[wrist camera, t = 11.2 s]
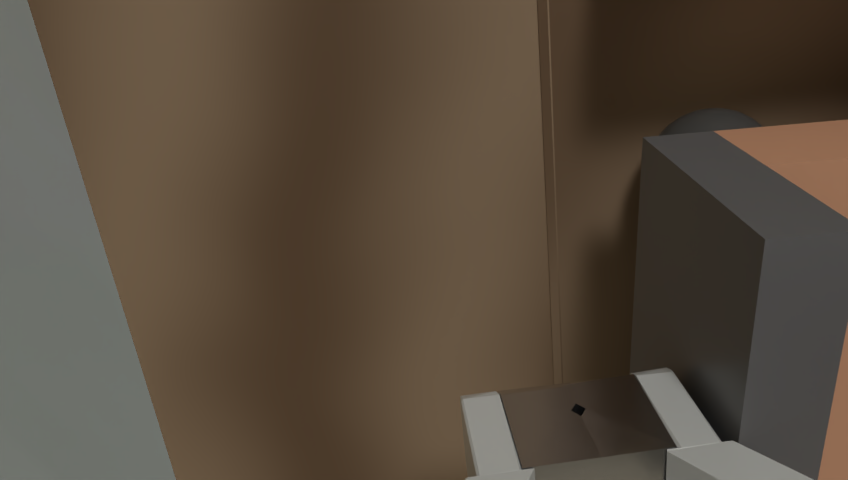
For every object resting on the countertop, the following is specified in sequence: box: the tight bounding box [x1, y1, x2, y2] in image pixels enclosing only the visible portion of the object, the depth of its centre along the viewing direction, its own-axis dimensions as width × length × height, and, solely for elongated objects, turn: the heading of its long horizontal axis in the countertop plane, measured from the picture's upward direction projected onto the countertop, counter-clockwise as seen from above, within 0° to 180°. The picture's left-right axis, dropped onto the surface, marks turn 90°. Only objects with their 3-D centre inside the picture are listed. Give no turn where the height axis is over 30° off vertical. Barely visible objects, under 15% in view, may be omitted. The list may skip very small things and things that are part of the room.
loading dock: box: [28, 0, 848, 480], centre depth 14 cm, size 21×15×5 cm
